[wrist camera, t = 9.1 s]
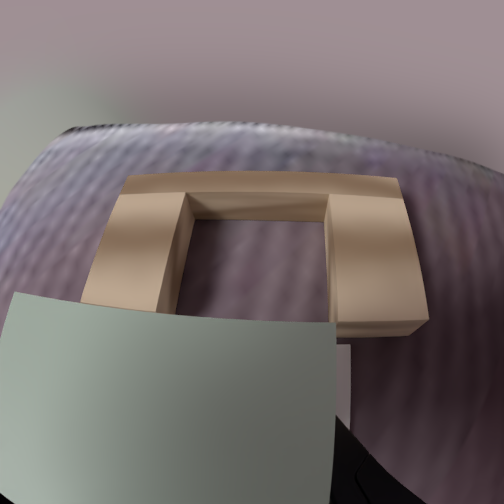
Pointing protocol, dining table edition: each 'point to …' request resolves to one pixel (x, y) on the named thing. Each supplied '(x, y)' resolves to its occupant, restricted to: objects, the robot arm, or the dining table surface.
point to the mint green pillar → (163, 407)
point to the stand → (275, 209)
